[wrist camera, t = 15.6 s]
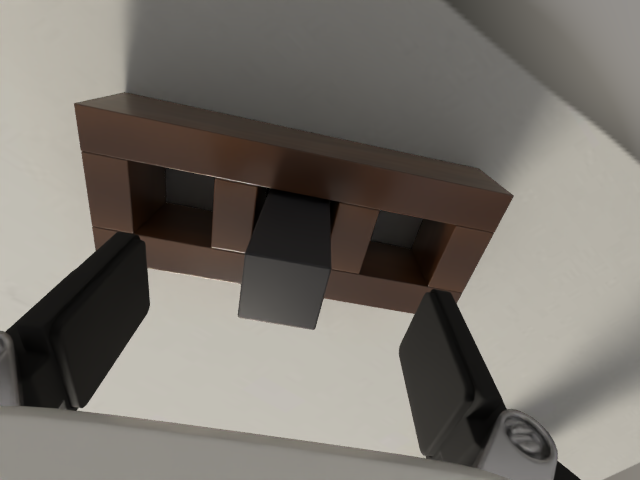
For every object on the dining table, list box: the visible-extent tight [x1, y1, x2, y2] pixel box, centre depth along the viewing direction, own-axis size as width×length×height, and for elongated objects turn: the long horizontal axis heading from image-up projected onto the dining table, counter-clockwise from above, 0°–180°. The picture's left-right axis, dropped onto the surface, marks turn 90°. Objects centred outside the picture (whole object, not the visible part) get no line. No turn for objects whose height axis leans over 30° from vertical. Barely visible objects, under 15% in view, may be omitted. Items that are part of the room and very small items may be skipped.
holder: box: [74, 92, 513, 314], centre depth 18 cm, size 8×19×4 cm, turn 79°
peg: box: [238, 188, 332, 330], centre depth 16 cm, size 3×3×9 cm
